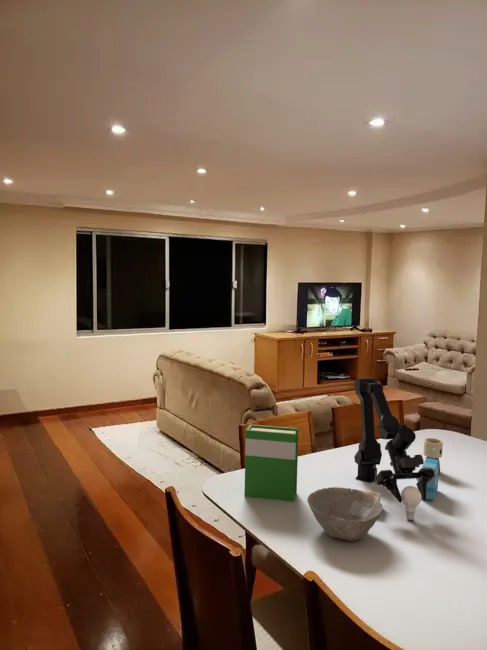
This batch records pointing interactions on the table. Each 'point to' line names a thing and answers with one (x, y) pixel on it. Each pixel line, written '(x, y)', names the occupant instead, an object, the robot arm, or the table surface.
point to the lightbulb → (411, 500)
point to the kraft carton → (373, 494)
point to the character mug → (433, 448)
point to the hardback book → (271, 462)
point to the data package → (433, 483)
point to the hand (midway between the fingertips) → (413, 501)
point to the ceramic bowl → (344, 511)
